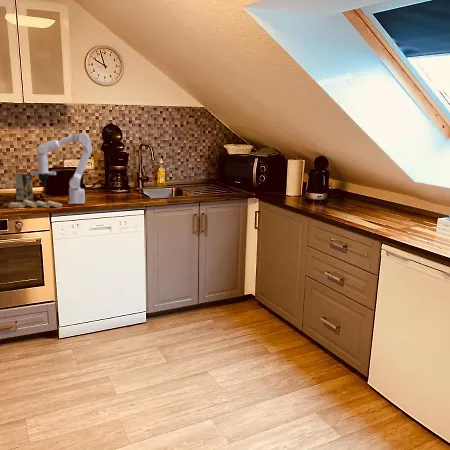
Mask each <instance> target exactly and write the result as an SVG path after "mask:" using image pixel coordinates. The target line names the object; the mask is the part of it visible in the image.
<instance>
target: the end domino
mask: <svg viewBox="0 0 450 450" xmlns="http://www.w3.org/2000/svg"><path fill="white" fill-rule="evenodd" d="M8 208H9V209H10V208H11V209H23V208H24V207H10V205H8Z"/></svg>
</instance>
